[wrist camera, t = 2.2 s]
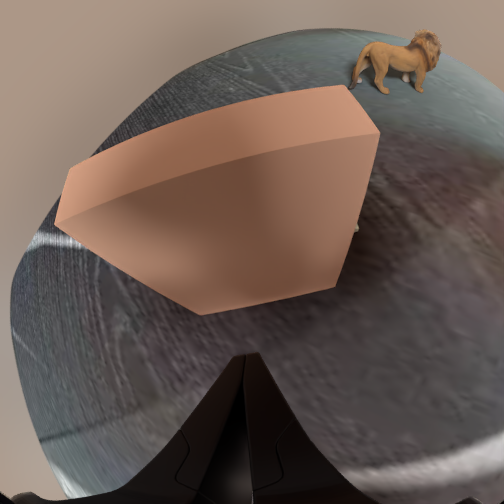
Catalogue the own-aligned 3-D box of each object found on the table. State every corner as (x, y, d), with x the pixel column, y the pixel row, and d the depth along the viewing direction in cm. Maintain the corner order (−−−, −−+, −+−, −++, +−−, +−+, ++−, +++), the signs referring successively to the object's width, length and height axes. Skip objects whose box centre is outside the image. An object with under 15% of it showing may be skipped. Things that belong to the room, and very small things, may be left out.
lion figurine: (416, 72, 28) (424, 24, 20) (440, 92, 25) (453, 41, 17) (338, 82, 28) (337, 22, 20) (362, 103, 26) (367, 37, 18)
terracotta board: (335, 286, 19) (380, 132, 6) (200, 315, 20) (54, 224, 7) (326, 255, 20) (344, 84, 7) (196, 283, 21) (69, 168, 8)
